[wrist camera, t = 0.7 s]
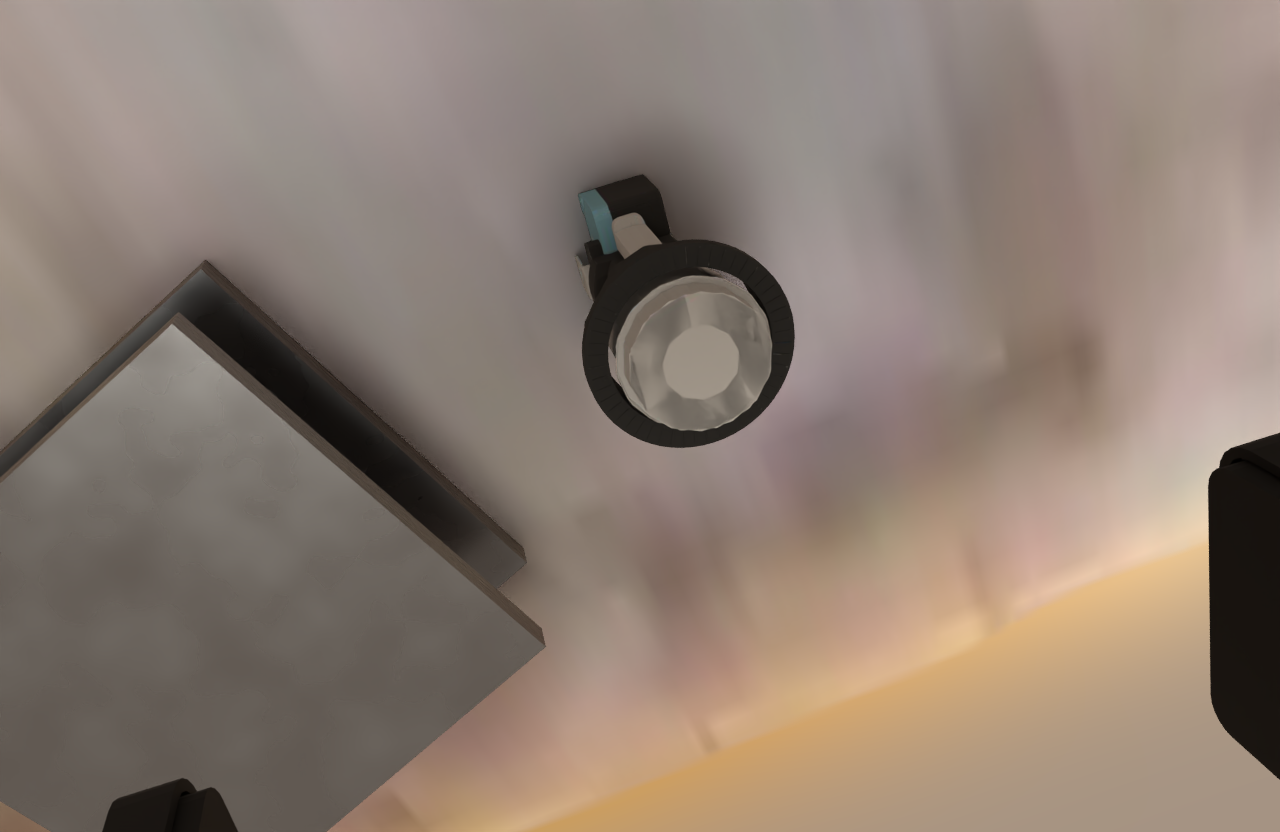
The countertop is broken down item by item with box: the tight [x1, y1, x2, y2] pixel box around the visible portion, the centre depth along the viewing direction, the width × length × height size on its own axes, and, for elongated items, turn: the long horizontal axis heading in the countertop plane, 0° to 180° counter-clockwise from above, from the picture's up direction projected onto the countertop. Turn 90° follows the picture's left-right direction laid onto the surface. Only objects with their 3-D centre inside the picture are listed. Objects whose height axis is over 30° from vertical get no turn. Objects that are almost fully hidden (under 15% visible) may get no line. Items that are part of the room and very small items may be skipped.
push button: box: [575, 175, 795, 448], centre depth 32 cm, size 7×5×10 cm
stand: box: [0, 260, 546, 832], centre depth 35 cm, size 14×14×6 cm
